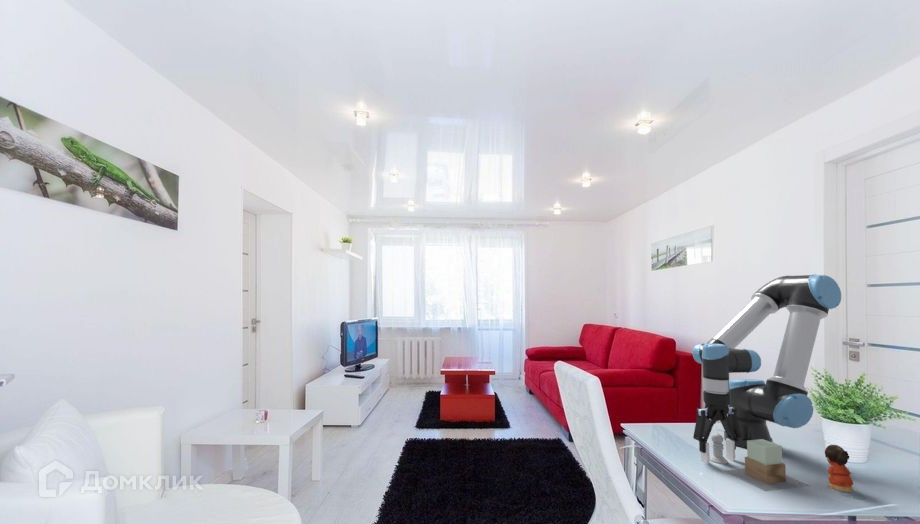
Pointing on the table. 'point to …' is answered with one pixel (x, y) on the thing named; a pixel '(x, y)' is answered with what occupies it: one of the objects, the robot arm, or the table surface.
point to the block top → (764, 452)
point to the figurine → (838, 469)
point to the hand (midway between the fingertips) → (718, 461)
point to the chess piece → (717, 449)
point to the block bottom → (765, 471)
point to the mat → (766, 487)
